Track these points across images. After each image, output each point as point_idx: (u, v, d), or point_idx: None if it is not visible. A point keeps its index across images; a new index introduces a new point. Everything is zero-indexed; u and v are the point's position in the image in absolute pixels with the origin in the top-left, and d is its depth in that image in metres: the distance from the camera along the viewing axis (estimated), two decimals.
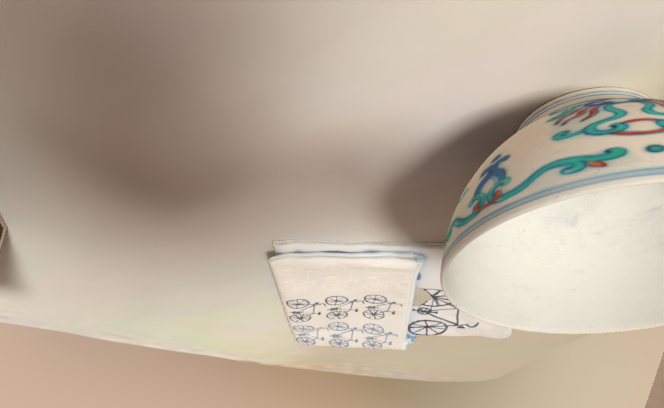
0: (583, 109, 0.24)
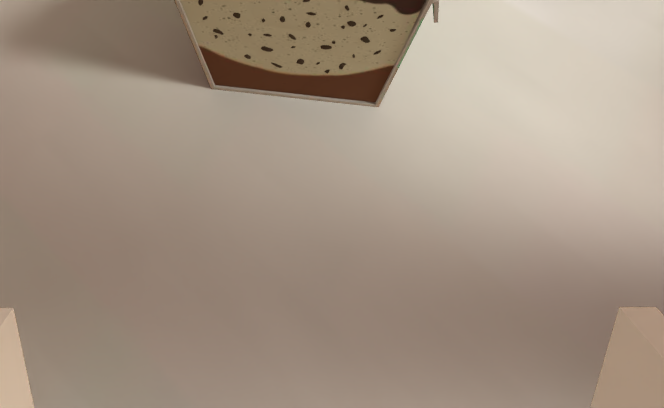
0: None
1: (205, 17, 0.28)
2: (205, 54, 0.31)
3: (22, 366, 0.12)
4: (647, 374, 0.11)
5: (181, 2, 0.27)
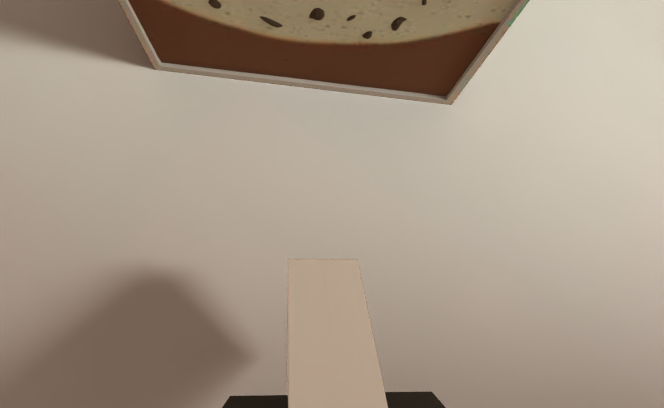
0: None
1: None
2: None
3: None
4: None
5: None
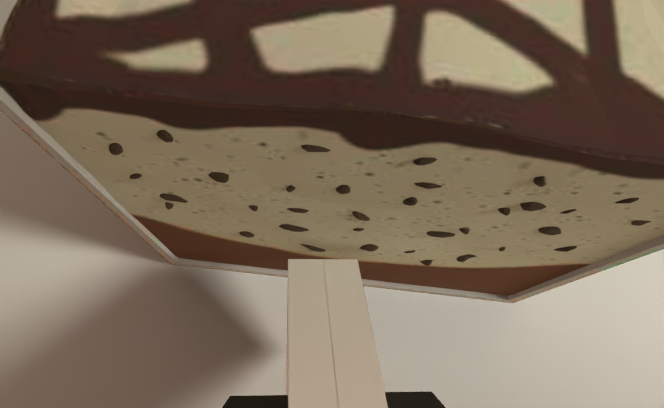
0: None
1: (136, 176, 0.11)
2: (149, 226, 0.13)
3: None
4: None
5: (61, 145, 0.10)
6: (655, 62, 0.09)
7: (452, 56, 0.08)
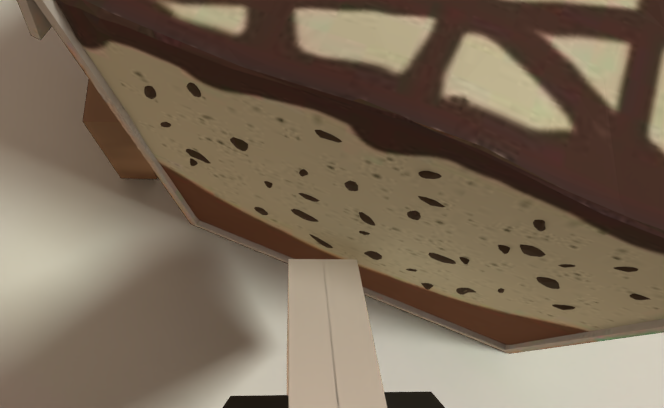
0: None
1: (165, 124, 0.11)
2: (175, 179, 0.14)
3: None
4: None
5: (104, 78, 0.10)
6: None
7: (478, 79, 0.08)
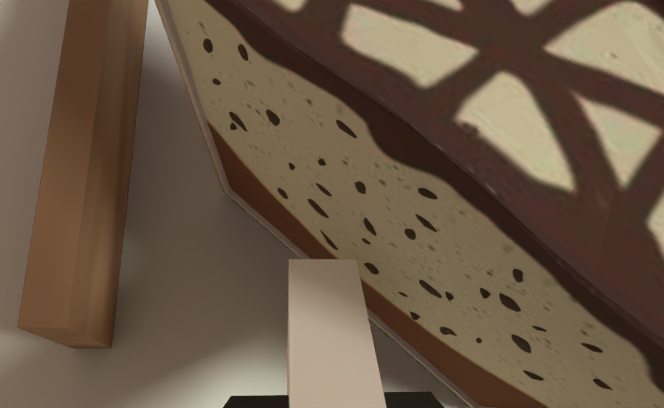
0: None
1: (216, 81, 0.12)
2: (216, 140, 0.15)
3: None
4: None
5: (174, 22, 0.11)
6: None
7: (496, 115, 0.08)
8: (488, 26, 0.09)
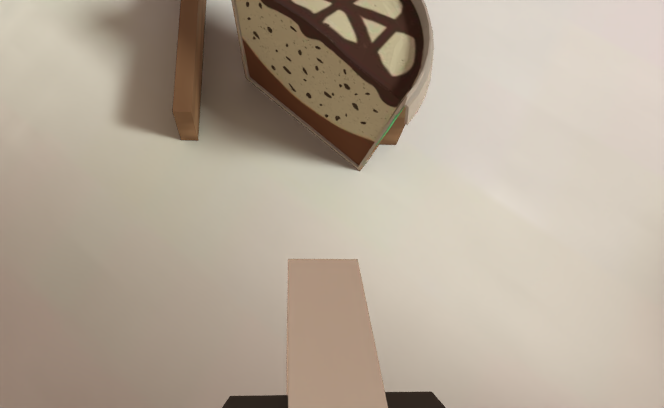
0: None
1: (249, 18, 0.32)
2: (245, 47, 0.35)
3: None
4: None
5: None
6: (388, 54, 0.29)
7: (335, 21, 0.29)
8: None
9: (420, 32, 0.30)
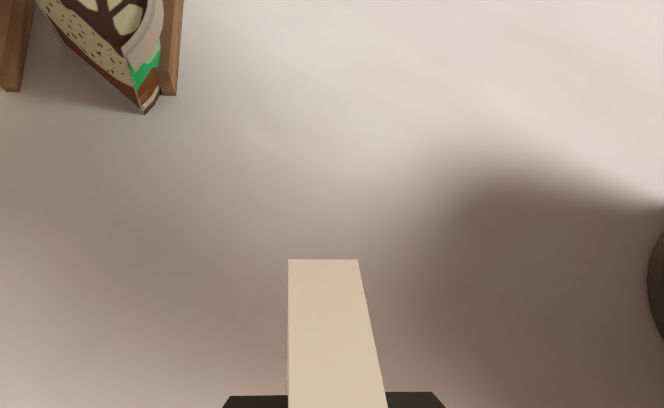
0: None
1: None
2: (50, 19, 0.47)
3: None
4: None
5: None
6: (120, 20, 0.40)
7: None
8: None
9: (147, 4, 0.41)
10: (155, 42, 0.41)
